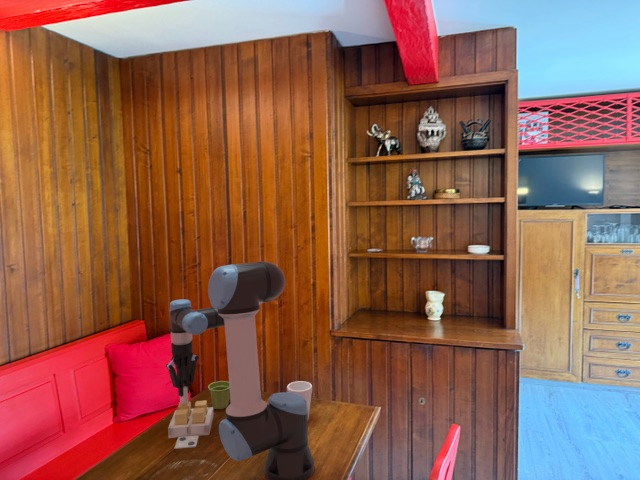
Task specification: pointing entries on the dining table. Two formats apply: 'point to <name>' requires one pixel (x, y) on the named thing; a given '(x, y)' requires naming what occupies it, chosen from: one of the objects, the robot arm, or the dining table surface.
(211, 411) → the board
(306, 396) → the foam cup
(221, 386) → the plant pot
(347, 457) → the dining table surface
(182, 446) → the pattern card
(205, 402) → the button far right
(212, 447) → the dining table surface
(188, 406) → the tan cube block
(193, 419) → the button near right
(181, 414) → the button near left
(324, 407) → the dining table surface
